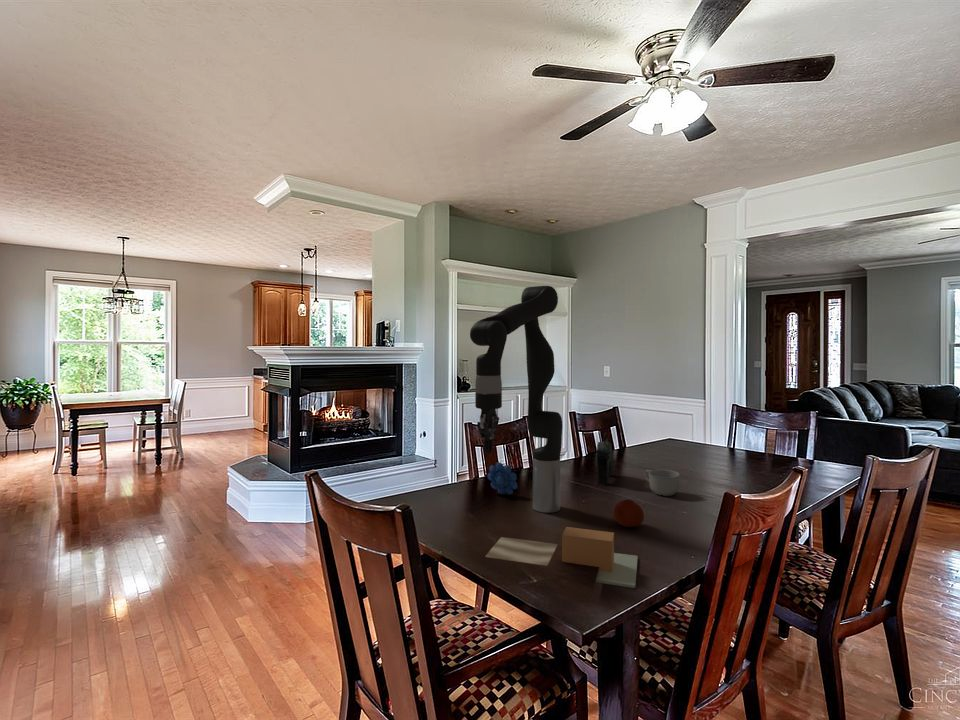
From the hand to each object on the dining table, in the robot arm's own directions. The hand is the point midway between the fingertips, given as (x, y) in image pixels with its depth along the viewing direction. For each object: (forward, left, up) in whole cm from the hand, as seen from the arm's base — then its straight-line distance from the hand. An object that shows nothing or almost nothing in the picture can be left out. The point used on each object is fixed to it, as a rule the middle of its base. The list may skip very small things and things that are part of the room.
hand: (488, 452), depth 140 cm
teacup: (-65, +47, -25) cm, 84 cm away
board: (+8, +12, -25) cm, 29 cm away
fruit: (-24, +37, -25) cm, 51 cm away
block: (+8, +29, -24) cm, 39 cm away
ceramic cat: (-77, +25, -25) cm, 85 cm away
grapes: (-42, -9, -25) cm, 50 cm away
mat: (+8, +30, -25) cm, 40 cm away
